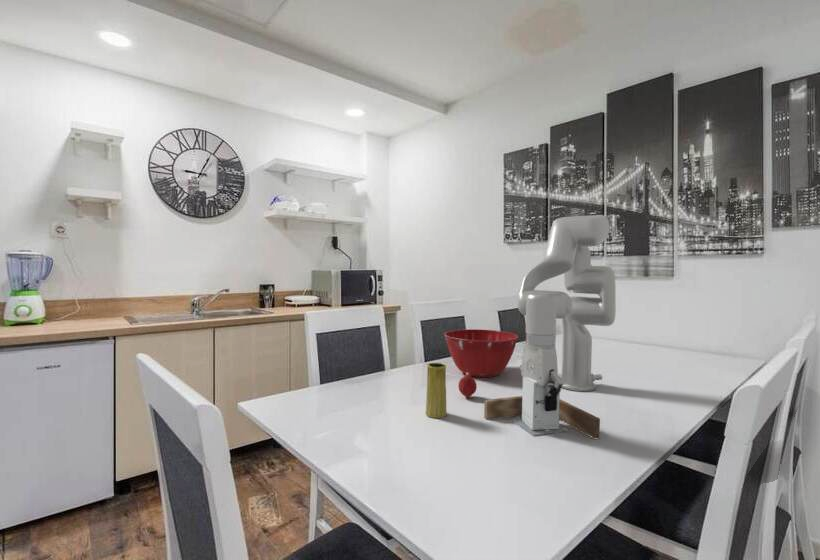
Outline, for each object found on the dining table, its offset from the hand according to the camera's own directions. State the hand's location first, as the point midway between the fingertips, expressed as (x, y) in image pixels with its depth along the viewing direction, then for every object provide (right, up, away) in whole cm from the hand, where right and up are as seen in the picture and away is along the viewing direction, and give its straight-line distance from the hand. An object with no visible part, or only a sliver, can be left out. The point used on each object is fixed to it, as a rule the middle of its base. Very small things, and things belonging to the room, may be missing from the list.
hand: (539, 404), depth 109 cm
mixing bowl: (-6, -4, +54) cm, 54 cm away
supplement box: (0, -6, 0) cm, 6 cm away
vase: (-27, -6, +9) cm, 29 cm away
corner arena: (-1, -6, -1) cm, 6 cm away
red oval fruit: (-16, -5, +24) cm, 29 cm away
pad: (0, -6, 0) cm, 6 cm away
